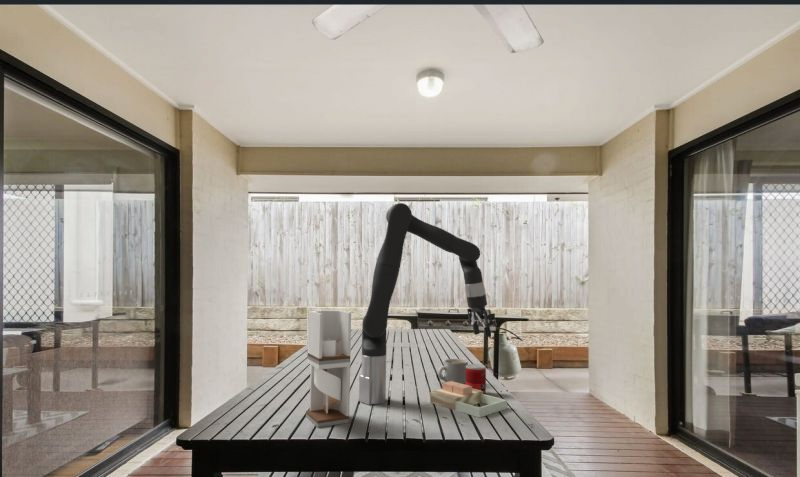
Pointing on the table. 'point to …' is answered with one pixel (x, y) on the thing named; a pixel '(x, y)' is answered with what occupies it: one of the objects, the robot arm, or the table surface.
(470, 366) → the canned food
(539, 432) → the table surface
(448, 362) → the coffee mug
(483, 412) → the tray
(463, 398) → the plate
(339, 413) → the display case
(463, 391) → the tile front
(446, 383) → the tile back
